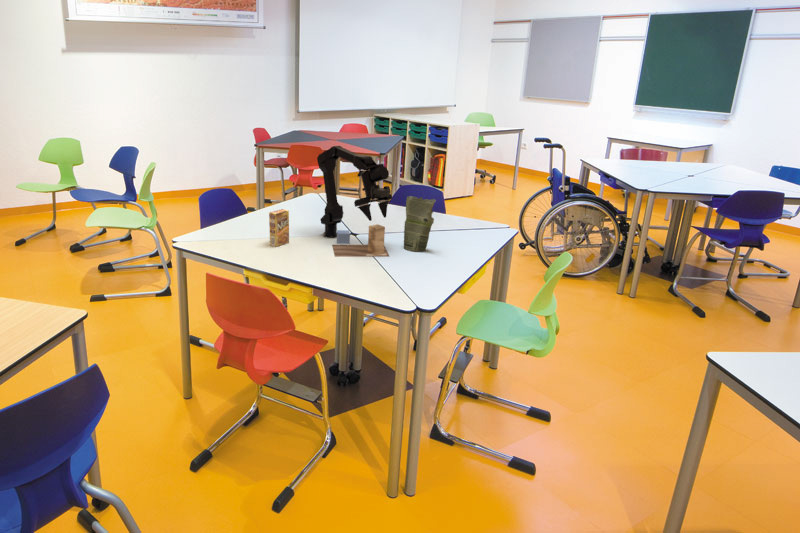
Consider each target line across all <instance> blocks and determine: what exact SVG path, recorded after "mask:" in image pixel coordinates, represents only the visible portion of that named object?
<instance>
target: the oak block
mask: <svg viewBox="0 0 800 533" xmlns="http://www.w3.org/2000/svg"><path fill="white" fill-rule="evenodd" d="M385 233H386V227H385V226H383V225H380V224H377V223H376V224H371V225H368V238H367V239H368V240H367V245H368V252H369V253H371V254H374V255H377V254H382V253H384V246H385V236H386V235H385Z"/></svg>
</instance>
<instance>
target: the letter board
mask: <svg viewBox="0 0 800 533" xmlns="http://www.w3.org/2000/svg"><path fill="white" fill-rule="evenodd" d="M331 246H332V250H333V254H334V257H335V258H336V257H337V258H339V257H345V258H346V257H348V258H350V257H352V258H353V257H354V258H356V257H359V258H360V257H363V258H365V257H366V258H368V257H370V258H371V257H372V258H373V257H378V258H380V257H383V258H385V257H388V258H389V257H390V256H391V255H390V254H389V252H388V250H387V248H386V246H385V245H384V253H382V254H377V255H374V254H371V253H369V252H368V244H331Z"/></svg>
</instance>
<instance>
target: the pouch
mask: <svg viewBox="0 0 800 533" xmlns="http://www.w3.org/2000/svg"><path fill="white" fill-rule="evenodd" d="M436 202H437V200H436V199H435V198H431V199H427V198H425V199H423V196H420V197H416V196H412V195H409V196H406V202H405V217H406V219H405V221H404V226H403V227H404V229H403V231H404V232H403V234H404V235H403V249H404V250H406V251H409V252H412V253H413V252H414V253H416V252H417V253H419V252H423V253H424V252H425V251H426V249H427V247H428V243H429V239H430V232H431V229H432V226H433V225H434V223H435V222H434V221H435V219H434V217H433V213H434V211H433V207H434V206H435V203H436Z"/></svg>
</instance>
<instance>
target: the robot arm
mask: <svg viewBox="0 0 800 533" xmlns="http://www.w3.org/2000/svg"><path fill="white" fill-rule="evenodd" d="M316 159H317V165H318V168H319V169H320V171H321V172H322V174H323V183H324V184H323V185H324V191H325V198H326V205H325V207H324V215H322V217H320V223H321V224H322V225H324V232H323V236H324V238H337V230H338V224H340V223H342V220H343V218H344V214H345V213H344V209H343V208H344V207H343V206H344V205H340V203H339V201H338V195H337V188H336V181H335V179H336V178H335V173H334V171H335V168H336V166H337V160H339V159H343V160H346V161H347V162H349V163H351V164H352V165H353V167H355V168H356V169H357V170H359V172H358V173H357V177H358V178H359V177H361V182H362V185H363V188H361V189H362V191H363V192H364V194H365V197H361V198H358V199H355V200H354V203H353V204H354V207H357V209H359V210H360V211H361V212H362V213H363V215H365V217H366V218H367V219H368V221H372V219H373V218H372V213H371V203H375V202H378V203H377V206H378V208H379V210H380V212H381V215H382V217H383V218H385V219H386V218H387V212H388V211H387V210H388V205H389V203H390V202H391V200H393V196H392V194H391V188H390V186H388V185H385V186H384V187H380V185H379V184H377V183H378V182H381V181H385V180H387V179H388V178H389V177H390V176H389V175H390V172H389V170H388V168H387V167H386V166H384V163H379V164H378V163H376V161H375V160H374V159H373V157H372V156H371V155H367V154H359V153H356V152H353V151H352V150H349V149H346V148H345V147H343V146H341V145H333V146H331V147H330V148H328V149H327V150H325V151H323V152H321V153H319V154H318V156H317V157H316Z"/></svg>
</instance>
